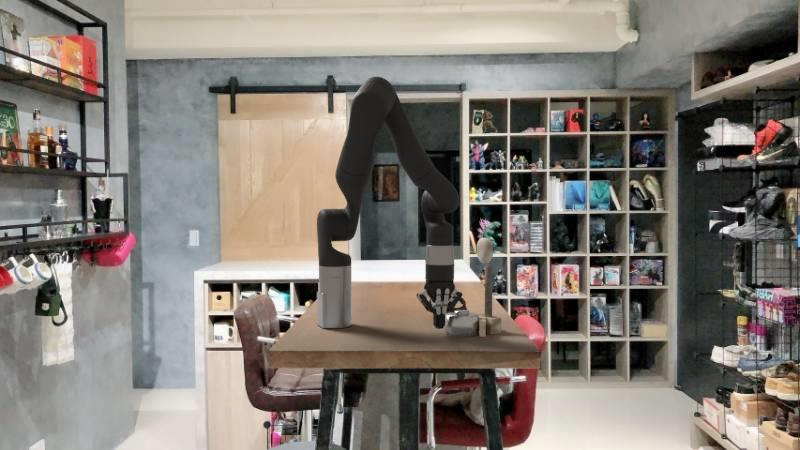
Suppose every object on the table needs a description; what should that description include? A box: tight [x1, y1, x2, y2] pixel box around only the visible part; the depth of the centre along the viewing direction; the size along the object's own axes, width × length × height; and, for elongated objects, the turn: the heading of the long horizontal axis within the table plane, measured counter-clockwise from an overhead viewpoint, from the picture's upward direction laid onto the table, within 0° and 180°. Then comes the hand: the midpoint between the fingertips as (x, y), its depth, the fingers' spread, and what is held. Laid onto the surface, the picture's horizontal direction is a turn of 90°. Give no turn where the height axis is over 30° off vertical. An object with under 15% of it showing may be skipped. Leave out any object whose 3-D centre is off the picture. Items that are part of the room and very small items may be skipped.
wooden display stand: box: [476, 237, 502, 337], centre depth 173 cm, size 7×12×26 cm, turn 23°
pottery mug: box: [428, 296, 468, 313], centre depth 193 cm, size 12×10×8 cm
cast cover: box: [444, 309, 479, 338], centre depth 171 cm, size 9×9×6 cm
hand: (439, 328), depth 168 cm, fingers closed
